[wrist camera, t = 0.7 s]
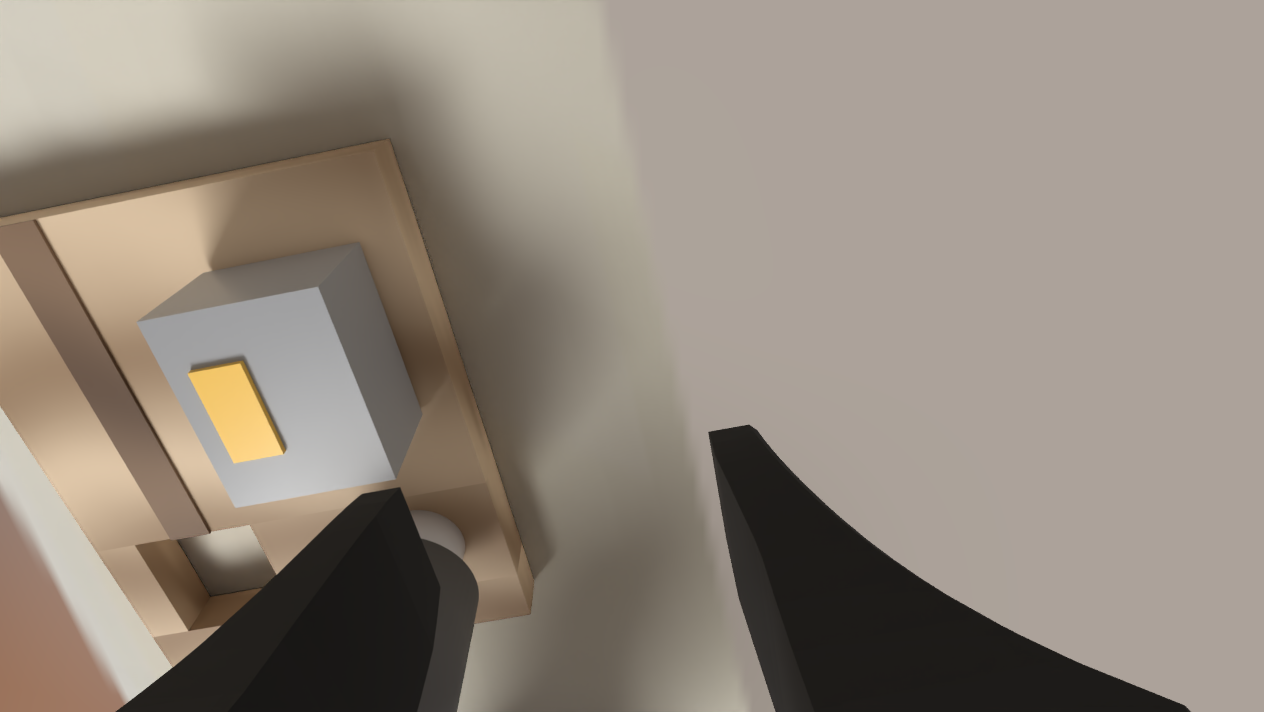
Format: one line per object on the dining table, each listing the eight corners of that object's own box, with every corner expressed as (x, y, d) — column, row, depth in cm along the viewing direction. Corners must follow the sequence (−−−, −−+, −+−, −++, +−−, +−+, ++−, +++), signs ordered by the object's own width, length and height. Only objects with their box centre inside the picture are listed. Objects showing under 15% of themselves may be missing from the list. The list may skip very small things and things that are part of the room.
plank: (534, 580, 26) (530, 616, 24) (198, 638, 26) (175, 676, 25) (389, 138, 19) (372, 151, 18) (-56, 229, 20) (-108, 248, 18)
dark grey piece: (503, 582, 24) (468, 799, 17) (380, 603, 24) (302, 825, 18) (467, 480, 22) (413, 680, 16) (334, 503, 22) (229, 711, 16)
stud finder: (422, 414, 21) (394, 483, 18) (282, 440, 21) (232, 512, 18) (359, 241, 18) (315, 289, 16) (203, 272, 19) (132, 324, 16)
